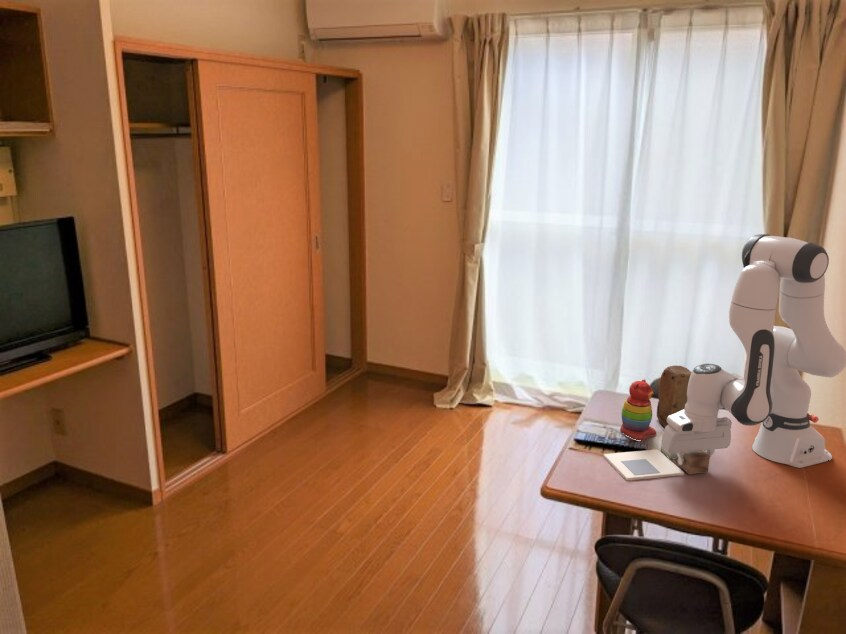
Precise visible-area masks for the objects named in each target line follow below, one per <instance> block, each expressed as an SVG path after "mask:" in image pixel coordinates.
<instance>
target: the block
mask: <svg viewBox="0 0 846 634" xmlns="http://www.w3.org/2000/svg"><path fill="white" fill-rule="evenodd" d="M691 373H692V371H690V369H688V368H687V367H684V366H683V365H669V366H667V367H665V368H664V370H663V371H662V373H661V376H660V380H659V385H658V397H657V398H658V401H657V407H656V418H657V420H658V422H659V423H660V424H661V425H662V426H663V427H664V428H665V427H666V426H667V425H668V423H667V417H668V416H670V415H672V414H675V413H677V412H679V411H681V410H683V409H685V405H686V402H687V388H688V383H689V379H690V375H691Z"/></svg>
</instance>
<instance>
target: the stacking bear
mask: <svg viewBox="0 0 846 634" xmlns="http://www.w3.org/2000/svg"><path fill="white" fill-rule="evenodd" d="M628 390H629V391H628V392H629V396H628V397H627V398H626V399H625V401H624V403H623V405H622V409H621V422H622V424H621V426H620V428H619V430H620V433H624V434H625V435H627V436H629V437H631V438H633V439H636V440H641V442H644V441H645V440H646V438H648V437H654V436H656V435H657V430H656V429H655V428H654V427H652V426H650V425H651V421H652V419H653V407H652V402H651V400H650V399H652V398H653V396H654V390H653V389H652V387H651V385H650V384H649V383H648V382H647V381H646V379H642V380H636V381H633V382H632V383H631V384H630V386H629V389H628ZM624 434H623V435H624ZM625 435H624V436H625Z"/></svg>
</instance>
